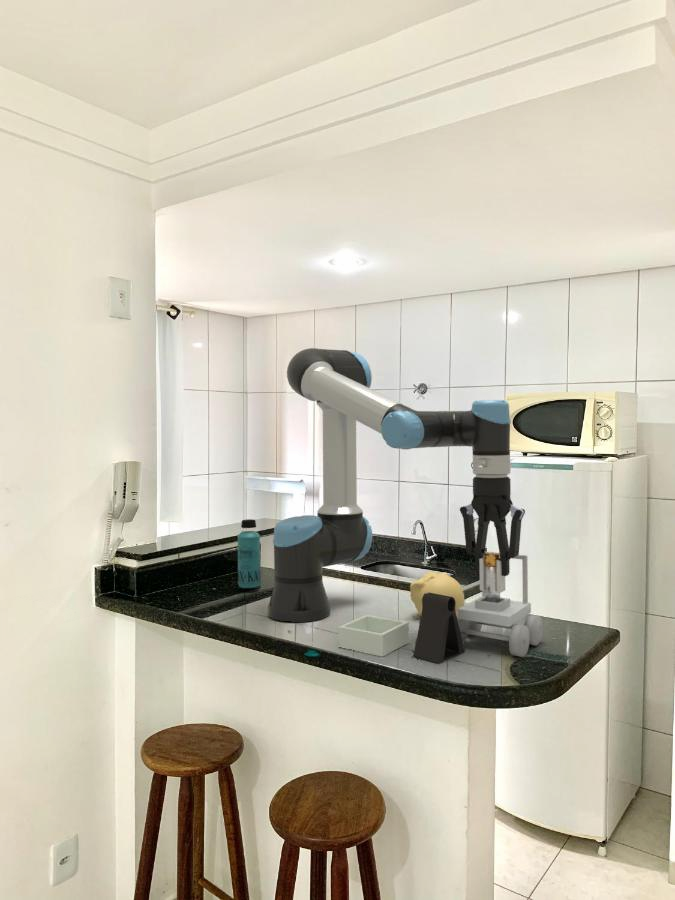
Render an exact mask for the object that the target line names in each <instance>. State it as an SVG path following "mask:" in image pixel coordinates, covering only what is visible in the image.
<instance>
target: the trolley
mask: <svg viewBox="0 0 675 900" xmlns="http://www.w3.org/2000/svg"><path fill="white" fill-rule="evenodd" d="M490 552H491V551H486V550H485V553H490ZM492 552H493V553H499V552H497V551H496V552H494V551H492ZM499 554H500V553H499ZM484 557H485V555H484ZM513 559H515V560H521V561H522V601H519V600H511V598H507V597H502V596H500V602H499V603H494V602H486V601H485V590H484V591H482V590H481V591H482V592H481V593H482V595H481V596H479V597H478V598H476V599H474V600H472V601H470V602H468V603H466V604H464V606H462V607H460V608H458V615H456V616H457V620H458V624H459V629H460V633H461V637H462V641H463V644H464V643H465V641H466V638H467V635H470V636H476V637H483V638H489V639H492V640H493V639H494V640H500V641H504V642H505V641H506V642H508V648H509V649H508V650H509V652H510V655H511V656H516V657H520V658H524V657H526V656H527V654H528V651H529V647H530V646H537V644H539V643H540V644H541V641H542V638H543V634H544V623H543V619H542V616H541V615H534V614H531V613H532V607H531V606H532V604H531V602H528V599H529V597H528V596H529V593H528V591H529V589H528V588H529V586H528V584H529V583H528V582H529V581H528V579H529V578H528V576H529V575H528V573H529V572H528V567H529V566H528V564H529V563H528V555H527V554H519V555H518V556H516V557H514V558H512V560H513ZM524 618H525V620H524V622H523V624H524V625H523V624H517V622H519V621H520V620H522V619H524ZM483 625H484V626H489V627H490V626H491V627H494V628H495V627H497V628H500V629H501V628H503V629H507V630H510V631H509V635H505V634H498V633H493V632H487V631H482V627H483ZM540 644H539V645H540Z"/></svg>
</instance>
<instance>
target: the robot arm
mask: <svg viewBox="0 0 675 900" xmlns="http://www.w3.org/2000/svg"><path fill="white" fill-rule="evenodd" d="M372 377H373V376H372V370H371V366H370V365H369V362H368V361H367V359H366V358H365V357H364V356H363V355H361V354H360V353H358V352H356V351H349V350H347V349H346V350H344V349H327V348H326V349H324V348H314V347H312V348H305V349H302V350H300V351H299V352H297V353H296V354H294V355H293V356H292V358H291V359H290V360H289V362H288V365H287V370H286V378H287V382H288V384H289V386H290V387H291V389H292V390H293V391H294V392H295V393H296V394H298V395H299V396H301V397H303V398H305V399H306V400H308V401H310V402H316V405H317V406H318V407H319V408H320V409H321V411H322V489H323V490H322V500H323V502H322V503H323V504H322V505H321V506H320V507H319V508H318V509H317V513H316V514H317V515H314V514H313V515H312V514H311V515H310V514H309V515H308V514H307V515H306V514H305V515H300V516H293V517H288V518H285V519H282V520H280V521H278V522H277V523H276V524H275V526H274V528H273V540H272V543H273V558H274V560H273V561H274V562H273V564H274V569H273V570H274V571H273V572H274V584H273V588H272V591H271V595H270V596H271V597H269V602H268V606H267V616H268V617H269V618H270V617H271V618H270V619H272V618H273V619H272V620H274V619H276V620H275V621H278V620H281V621H280V622H283V621H291V622H290V623H306V622H308V623H309V622H314V621H318V620H319V621H320V620H323V619H325V618H327V617H329V616H330V615H331V603H330V601H329V599H328V594H327V592H326V589H325V586H324V581H323V568H325V567H330V566H335V565H339V564H349V563H353V562H355V561H358V560H360V559H362V558H364V557H365V555H367V554H368V553H369V550H370V549H371V547H372V543H373V529H372V526H371V525H370V522H369V520H368V519H367V518H366V517H365V516H364V515H363V513H364V512H363V509H362V508H361V507H360V506H359V505H358V503H357V500H358V499H357V498H358V497H357V496H358V495H357V494H358V493H357V491H358V489H357V488H358V487H357V486H358V485H357V484H358V483H357V480H358V479H357V469H358V468H357V422H358V423H360V424H362V425H364V426H366V427H368V428H370V429H372V430H373V431H375V432H377V433H379V434H381V437H382V439H383V440H384V441H385V443H386V444H387V446H389V447H390V448H393V449H401V450H412V449H423V448H424V449H425V448H443V447H445V448H446V447H448V448H449V447H472V474H473V475H474V476H473V478H472V495H473V496H472V500H471V503H469V504H468V505H464V506H461V507H459V511H460V514H461V516H462V521H463V531H464V540H465V551H466V553H467V554H468V555H471V556H473V557H474V558H475V561H474V562H475V572H476V574H479V591H484V590H485V557H484V555H485V551H486V548H487V547H486V546H487V540H488V539H487V538H488V532H489V531H488V530H489V525H490V523H491V522H492V523H493V526H494V528H495V533H496V541H497V546H498V553H500V558H499V560H497V593H500V594H502V593H503V592H504V591H506V577H507V576H509V575H510V572H511V571H510V570H511V569H510V566H511V565H510V561H511V559H513V558H514V557H516V556H518V555H520V545H521V544H520V543H521V533H522V532H521V531H522V520H523V518H524V516H525V514H526V510H525V509H524V508H519V507H516V506H515V505H514V504H513V503H514V502H513V501H512V498H511V494H512V493H511V491H512V490H511V483H512V482H511V478H510V476H508V475H510V474H511V450H510V448H511V446H510V445H511V443H510V439H511V438H510V437H511V435H510V434H511V422H512V421H511V418H510V405H509V402H508V401H506V400H503V399H486V400H485V399H482V400H475V401H473V402H472V404H471V410H451V411H450V410H437V411H436V410H434V411H433V410H431V411H430V410H429V411H427V410H415V409H413V408H411V407H409V406H406V405H404V404H402V403H400V402H399V401H396V400H394V399H392V398H391V397H388V396H386V395H385V394H382V393H380V392H378V391H377V390H373V389H372V388H371V386H372V379H373V378H372ZM474 512H475V514H476V515H477V516H478V518H477V533H476V531H475V530H476V529H475V521H474V520H475V519H474V515H473V514H474ZM509 513H510V516H511V521H510V522H511V523H510V534H509V538H508V533H507V527H506V526H507V519H506V518H507V515H508V514H509ZM508 539H509V540H508Z"/></svg>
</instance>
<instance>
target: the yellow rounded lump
mask: <svg viewBox="0 0 675 900" xmlns="http://www.w3.org/2000/svg"><path fill="white" fill-rule="evenodd" d="M409 589H410V590H409V591H410V595H409V596H410V600H411V601H412V603H413V604H414V606H415V608H416V611H417V612H418V613H419V615H420V616H421V614H422V598H423V595H424V594H425V593H427V594H428V592H429V593H434V594H439V595H444V596H449V597H453V598H454V599H455V602H456V605H455V611H456V615H458V608H460V607H462V606H464V605H465V594H464V590H463V588H462V586H461V584H460V583H459V582H458V581H457V580H456V579H455V578H453V577H451V575H448V574H447V572H434V571H428V572H426V573H425V574H423V576H422V577H421V578H419V579H417V580H415V581H413V582H411V584H410V586H409Z"/></svg>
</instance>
